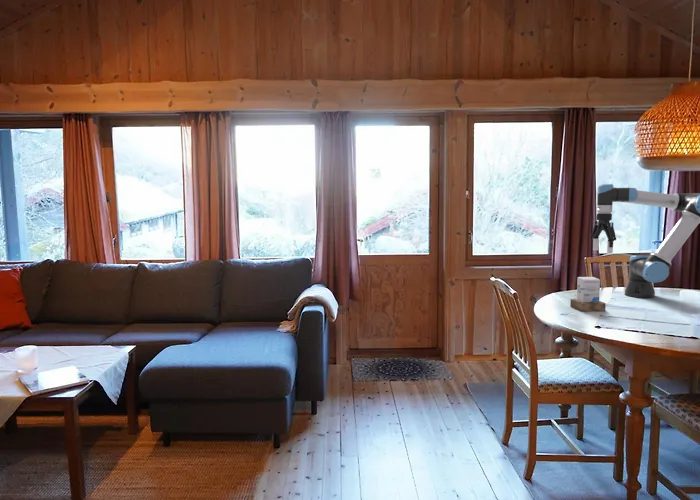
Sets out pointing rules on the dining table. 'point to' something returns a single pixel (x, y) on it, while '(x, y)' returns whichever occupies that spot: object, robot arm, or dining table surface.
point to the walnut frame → (587, 305)
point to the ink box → (588, 289)
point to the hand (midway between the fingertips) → (602, 251)
